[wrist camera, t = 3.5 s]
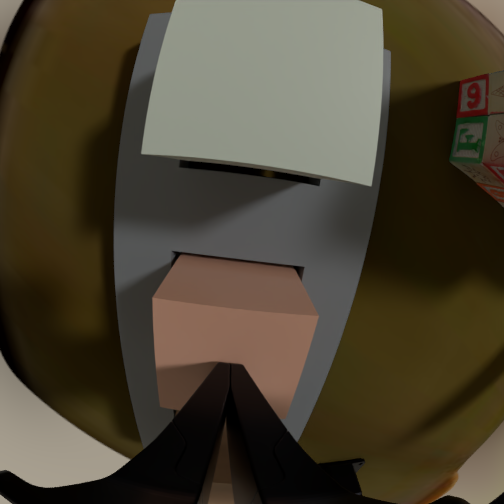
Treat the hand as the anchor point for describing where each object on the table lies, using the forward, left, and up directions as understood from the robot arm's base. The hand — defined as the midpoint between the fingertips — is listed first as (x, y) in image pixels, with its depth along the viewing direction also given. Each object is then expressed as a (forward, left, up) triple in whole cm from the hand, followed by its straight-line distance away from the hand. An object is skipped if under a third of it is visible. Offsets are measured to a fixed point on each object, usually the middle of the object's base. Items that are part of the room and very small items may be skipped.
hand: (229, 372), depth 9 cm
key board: (0, 0, -6) cm, 6 cm away
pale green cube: (+9, 0, -3) cm, 10 cm away
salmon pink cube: (0, 0, -5) cm, 5 cm away
